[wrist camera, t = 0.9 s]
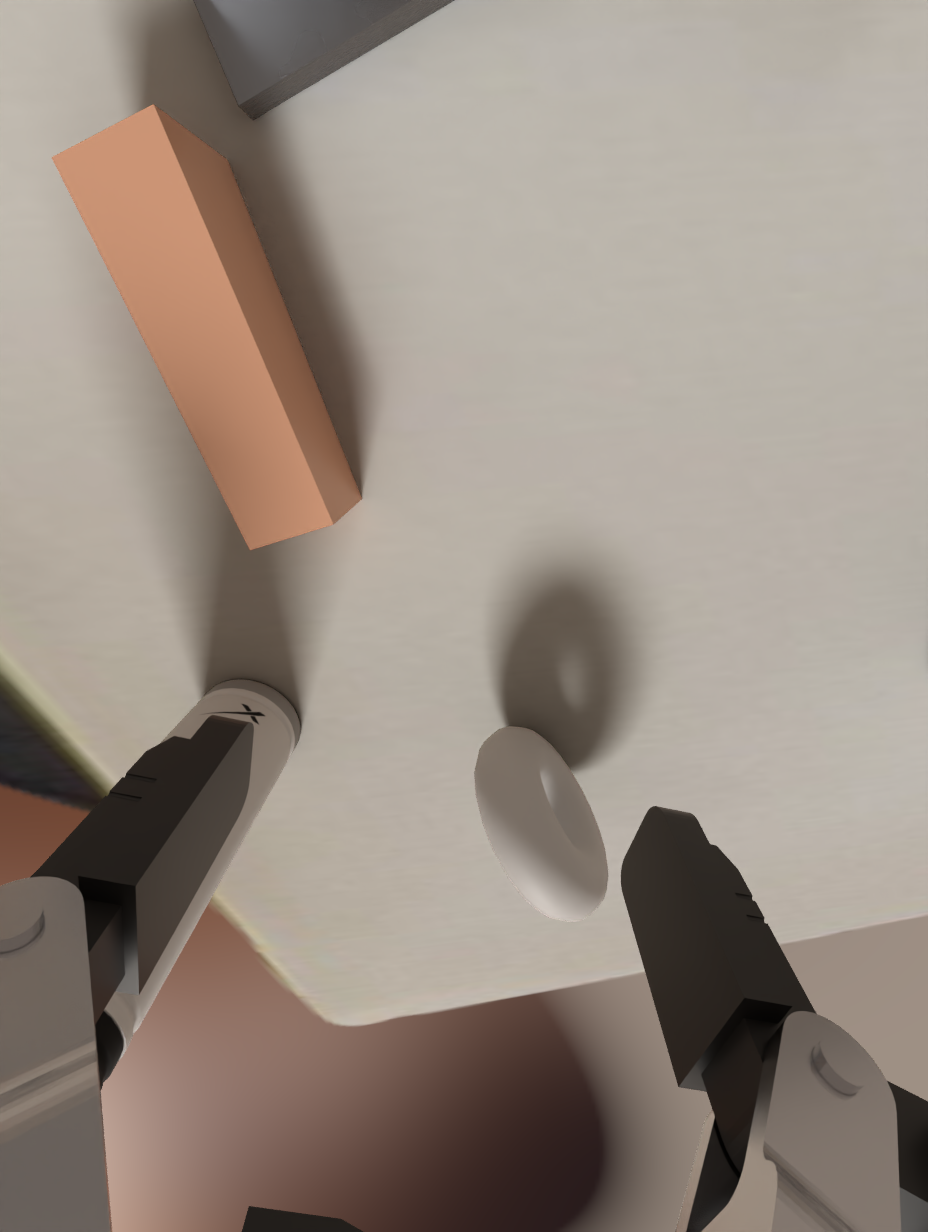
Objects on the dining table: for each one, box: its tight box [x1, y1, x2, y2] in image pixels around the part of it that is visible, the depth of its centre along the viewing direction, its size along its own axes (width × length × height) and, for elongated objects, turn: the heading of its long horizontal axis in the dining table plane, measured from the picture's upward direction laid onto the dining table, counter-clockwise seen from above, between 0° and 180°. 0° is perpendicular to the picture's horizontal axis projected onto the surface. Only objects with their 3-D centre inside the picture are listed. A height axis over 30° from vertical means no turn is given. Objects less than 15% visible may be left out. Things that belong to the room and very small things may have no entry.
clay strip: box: [52, 104, 362, 550], centre depth 22 cm, size 4×14×5 cm, turn 18°
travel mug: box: [95, 679, 300, 1090], centre depth 23 cm, size 6×7×20 cm
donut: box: [474, 726, 608, 922], centre depth 27 cm, size 10×4×10 cm, turn 36°
